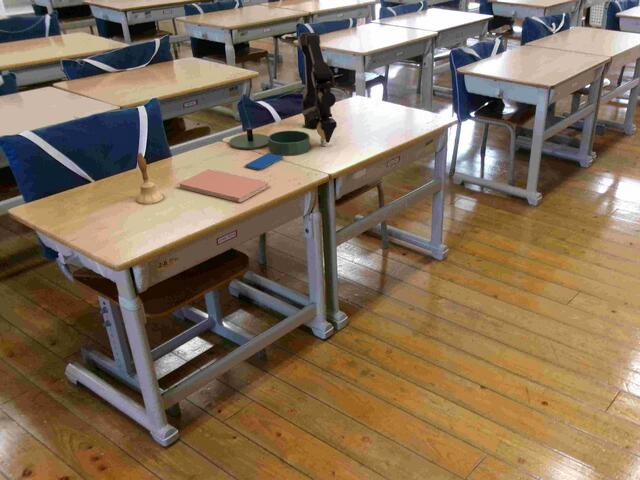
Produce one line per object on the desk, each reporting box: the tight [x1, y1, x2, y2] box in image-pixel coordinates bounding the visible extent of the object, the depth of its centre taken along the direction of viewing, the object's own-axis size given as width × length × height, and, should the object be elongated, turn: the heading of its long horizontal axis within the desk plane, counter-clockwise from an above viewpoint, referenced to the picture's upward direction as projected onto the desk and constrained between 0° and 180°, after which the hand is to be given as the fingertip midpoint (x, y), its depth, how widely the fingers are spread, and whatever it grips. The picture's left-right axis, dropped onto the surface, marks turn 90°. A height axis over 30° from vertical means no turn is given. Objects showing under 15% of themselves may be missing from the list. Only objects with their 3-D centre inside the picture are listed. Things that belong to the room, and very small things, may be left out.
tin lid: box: [228, 127, 269, 150], centre depth 261 cm, size 17×17×6 cm
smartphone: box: [245, 152, 284, 171], centre depth 243 cm, size 7×1×15 cm
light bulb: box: [316, 124, 331, 147], centre depth 259 cm, size 6×6×10 cm
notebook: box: [177, 169, 270, 203], centre depth 222 cm, size 27×17×2 cm, turn 63°
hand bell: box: [136, 152, 164, 205], centre depth 209 cm, size 8×8×16 cm
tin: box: [267, 130, 311, 157], centre depth 256 cm, size 16×16×5 cm
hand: (325, 138), depth 260 cm, fingers open, 9 cm apart
